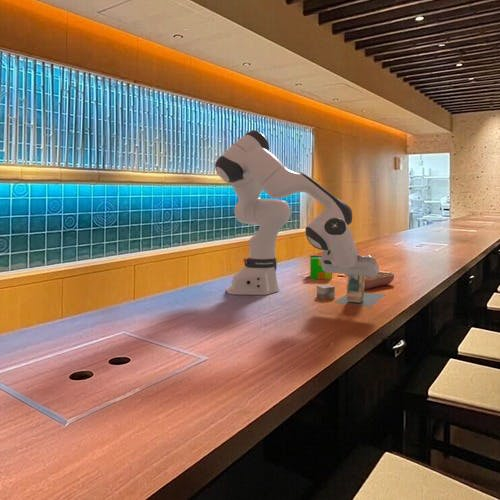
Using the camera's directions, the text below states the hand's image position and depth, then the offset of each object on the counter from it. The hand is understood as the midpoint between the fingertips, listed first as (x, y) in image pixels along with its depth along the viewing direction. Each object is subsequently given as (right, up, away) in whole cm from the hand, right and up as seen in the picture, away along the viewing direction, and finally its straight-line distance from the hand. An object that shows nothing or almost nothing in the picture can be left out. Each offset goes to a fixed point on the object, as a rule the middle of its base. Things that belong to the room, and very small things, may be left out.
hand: (353, 278), depth 173 cm
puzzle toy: (-4, -3, +57) cm, 57 cm away
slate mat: (+5, -9, +9) cm, 14 cm away
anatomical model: (+16, -6, +33) cm, 37 cm away
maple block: (+1, -9, +3) cm, 9 cm away
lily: (+22, -2, +63) cm, 67 cm away
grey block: (-9, -9, +11) cm, 17 cm away
